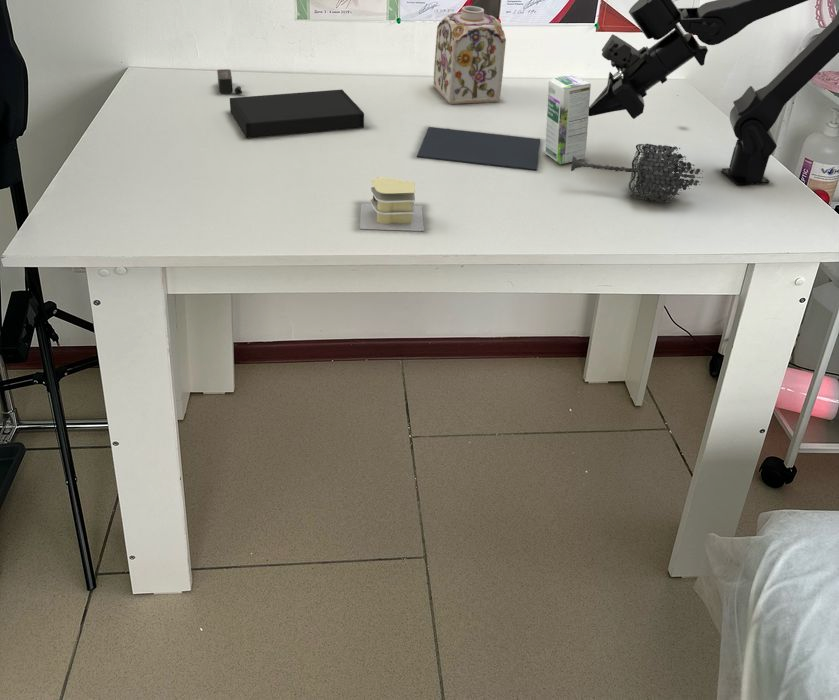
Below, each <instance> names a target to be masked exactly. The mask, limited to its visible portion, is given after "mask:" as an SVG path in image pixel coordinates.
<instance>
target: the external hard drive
mask: <svg viewBox="0 0 839 700" xmlns="http://www.w3.org/2000/svg"><path fill="white" fill-rule="evenodd" d="M229 111H230V114H231V115H232V117H233V120H234V121H235V122H236V125H237V126H238V127H239V129H240V130H241V132H242V134H243V136H244V137H245V139H255V138H256V139H257V138H267V137H276V136H289V135H297V134H298V135H299V134H310V133H321V132H331V131H342V130H352V129H363V128H365V112H364V111H363V110H362V109H361V108H360V107H359V106H358V105H357V104H356V103H355V101H354V100H353V99H352V98H351V97H350V96H349V95H348V94H347V93H346V92H345V91H344V89H343V88H342V89H330V90H317V91H303V92H291V93H276V94H265V95H251V96H250V95H249V96H237V97H229Z"/></svg>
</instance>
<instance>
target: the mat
mask: <svg viewBox="0 0 839 700" xmlns="http://www.w3.org/2000/svg"><path fill="white" fill-rule="evenodd" d="M540 145H541V138H534V137H526V136H525V137H524V136H516V135H507V134H497V133H489V132H480V131H469V130H461V129H451V128H443V127H433V126H428V127H427V130H426V132H425V135H424V137H423V140H422V142H421V145H420V147H419V150H418V151H417V155H416V158H421V159H429V160H438V161H447V162H457V163H465V164H474V165H482V166H491V167H498V168H499V167H500V168H508V169H519V170H528V171H535V172H536V171H537V169H538V162H539V155H540V154H539V152H540Z"/></svg>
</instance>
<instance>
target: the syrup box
mask: <svg viewBox="0 0 839 700" xmlns="http://www.w3.org/2000/svg"><path fill="white" fill-rule="evenodd" d="M547 84H548V85H547V105H546V107H547V110H546V125H545V126H546V127H545V147H544V148H545V150H544V154H545V155H546V156H548V157H550V158H551V159H552V160H554V161H555V162H556V163H558V164H559V165H563V164H567V163H572V159H573V156H574V157H576V159H577V160H578V161H580V160H582V159H585V158H586V155H587V154H586V153H587V140H588V127H589V126H588V125H589V116H588V114H589V107H590V100H591V99H590V98H591V88H592V87H591V86H592V84H591V83H590V82H587V81H586V80H585V79H583V78H581V77H579V76H578V75H576V74H565V75H560V76H556V77H552V78H550V79H548V83H547Z"/></svg>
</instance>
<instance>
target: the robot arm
mask: <svg viewBox="0 0 839 700" xmlns="http://www.w3.org/2000/svg"><path fill="white" fill-rule="evenodd" d="M807 1H809V0H712V1H707V2H705V3H702V4H701V5H700V6H698V7H680V8H679V7H677V6H676V4H675V2H674V1H673V0H637V1H636V2H635V3H634V4H633V5H632V6H631V7H630V8H629V10H628V14H629V15H630V17H631V18H632V19H633V21H634V22H635V23H636V25H637V26H638V28H639V29H640V31H641V32H642V34H643V35H644V36H645V37H646V39H647V40H650V39H651V40H652V39H653V40H654V41H657V42H656V43H654V44H653V45H651V47H648V46H642V47H641V48H640V49H637V48H635V47H634V46H633V45H631V44H630V43H628V42H627V41H625V40H623V39H622V38H620V37H619V36H618V35H616V34H613V33H612V34H611V35H610V37H609V38H608V40H607V41H606V43H605V44H604V45H603V47H602V49H601V52H602V53H601V56H602V57H603V58H604V59H605V60H607V61H610V65H611V67H612V68H615V69H616V70H617V72H615V73H612V72H611V71H609V72H608V78H607V84H606V86H605V88H604V89H603V90H602V91H601V93H600V94H599V95H598V96H597V97H596V98H595V99H594V100H593V102H592V103H591V104H590V105H589V114H588V117H594V116H598V115H604V114H607V113H613V112H619V111H626V112H627V113H628V115H629V116H630V117H631V118H632V119H633V120H635V119H636V118H637V117H639V116H640V115H642V114H643V113H644V109H645V100H644V97H646V96H647V95H648V93H647V92H648V91H649V90H650V89H652V88H653V87H654V86H656V85H657V84H658V83H661V85H662V84H664V83H666V82H667V81H668V78H667V77H668V76H670V75H671V74H673V73H674V72H675V71H677V70H679V68H681V67H682V66H683V65H685V64H686V63H688V62H689V61H690V60H692V59H693V58H694V59H695V60H696V62H697V63H698V65H699V66H701V67H703V66H705V61H706V56H707V54H708V52H709V49H708V47H707V46H716V45H719V44H721V43H723V42H725V41H727V40H728V39H730V38H732V37H734V36H735V35H737V34H739V33H740V32H741V31H742V30H744V29H745V28H746V27H747V26H749V25H751V24H752V23H754V22H756V21H759V20H761V19H764V18H766V17H768V16H771V15H775V14H777V13H780V12H781V11H785V10H787V9H790V8H793V7H794V6H797V5H800V4H803V3H805V2H807ZM679 24H680V26H679ZM682 29H683V30H682ZM684 32H685V33H684ZM695 36H697V39H698V40H699V41H700V42H701V43H703V44H705V45H700V43H699V42H698V40H697V39H696V38H695ZM706 45H707V46H706ZM838 54H839V9H838V10H837V12H836V14H835V16H834V18H833V19H832V21H831V22H829V24H828V25H826V27H825V28H823V29H822V31H821V32H819V33H818V35H816V37H815V38H814V39H813V40H811V42H809V43H808V44H807V45H806V46H805V47H804V49H802V50H801V52H799V53H798V54H797V55H796V56H795V57H793V59H792V60H791V61H790V62H789V63H788V64H787V65H786V66H785V67H784V68H783V69H782V70H781V71H780V72H779V73H778V74H777V75H776V76H775V77H774V78H773V79H772V80H771V81H770V82H769V83H768V84H767V85H765V86H763V87H761V88H759V89H757V90H755V88H754V87H753V86H752V85H750V86H748V87H747V89H746V90H745V91H744V93H743V94H742V95H741V96H740V97H739V98H737V99H736V100H733V102H732V103H733V106H732V108H731V110H730V111H729V122H730V125H731V128H732V131H733V133H734V136H735V138H736V141H735V146H734V147H733V151H732V156H731V159H730V163H729V167H726V168H725V167H724V168H721V173H722V174H723V175H725V176H726V177H727V178H728V179H730V180H731V181H732V182H733V183H734V184H736V185H737V186H749V185H750V186H751V185H768V184H770V180H769V179H768V178H766V176H765V173H766V169H767V166H768V162H769V159H770V156H772V155H773V153H774V152H775V150H776V149H777V147H778V146H777V142H776V141H775V139H774V136H773V133H772V132H771V128H772V127H773V126H774V125H775V124H776V122H777V120H778V118H779V116H780V115H781V112H782V111H783V110H784V109H783V108H784V107H785V105H786V104H787V103H788V102H789V101H790V100H791V99H792V98H793V97H794V96H795V95H797V94H798V93H799V91H800V90H801V89H803V87H805V86H806V85H807V84H808V83H809V82H810V81H811V80H812V79H813V78H814V77H815V76H816V75H818V74H819V72H820V71H821V70H823V69H824V68H825V66H827V65H828V63H829V62H831V61H833V59H834V58H835V57H836V56H837V55H838Z"/></svg>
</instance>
